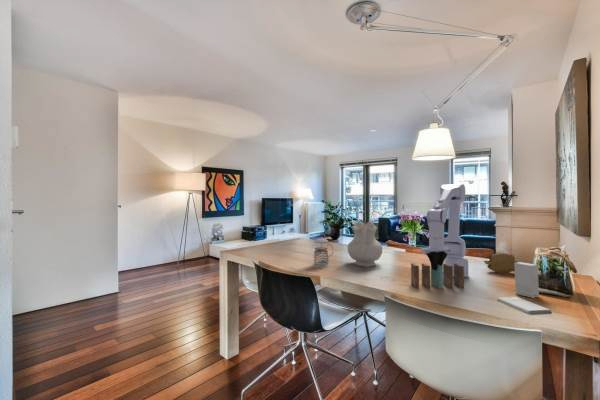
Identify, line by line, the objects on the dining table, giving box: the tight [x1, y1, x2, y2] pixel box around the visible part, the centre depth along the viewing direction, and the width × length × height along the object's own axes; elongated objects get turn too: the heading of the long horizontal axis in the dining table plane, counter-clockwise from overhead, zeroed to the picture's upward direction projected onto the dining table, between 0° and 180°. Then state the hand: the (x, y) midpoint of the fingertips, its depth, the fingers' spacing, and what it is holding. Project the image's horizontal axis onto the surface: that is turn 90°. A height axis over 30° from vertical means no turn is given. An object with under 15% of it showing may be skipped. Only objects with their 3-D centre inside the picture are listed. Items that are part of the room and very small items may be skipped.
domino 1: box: [410, 262, 420, 288], centre depth 119 cm, size 2×5×9 cm, turn 176°
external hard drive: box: [496, 296, 552, 315], centre depth 96 cm, size 2×8×12 cm
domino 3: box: [430, 265, 444, 289], centre depth 119 cm, size 2×5×9 cm, turn 16°
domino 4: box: [442, 263, 454, 289], centre depth 118 cm, size 2×5×9 cm, turn 176°
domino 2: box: [421, 262, 431, 289], centre depth 119 cm, size 2×5×9 cm, turn 176°
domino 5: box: [453, 264, 465, 289], centre depth 118 cm, size 2×5×9 cm, turn 176°
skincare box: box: [514, 261, 540, 299], centre depth 106 cm, size 6×4×12 cm
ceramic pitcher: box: [347, 220, 383, 268], centre depth 158 cm, size 22×20×25 cm
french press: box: [312, 220, 334, 269], centre depth 156 cm, size 10×12×25 cm
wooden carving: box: [483, 252, 518, 274], centre depth 140 cm, size 16×5×10 cm, turn 80°
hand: (436, 269), depth 119 cm, fingers closed on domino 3, 2 cm apart
